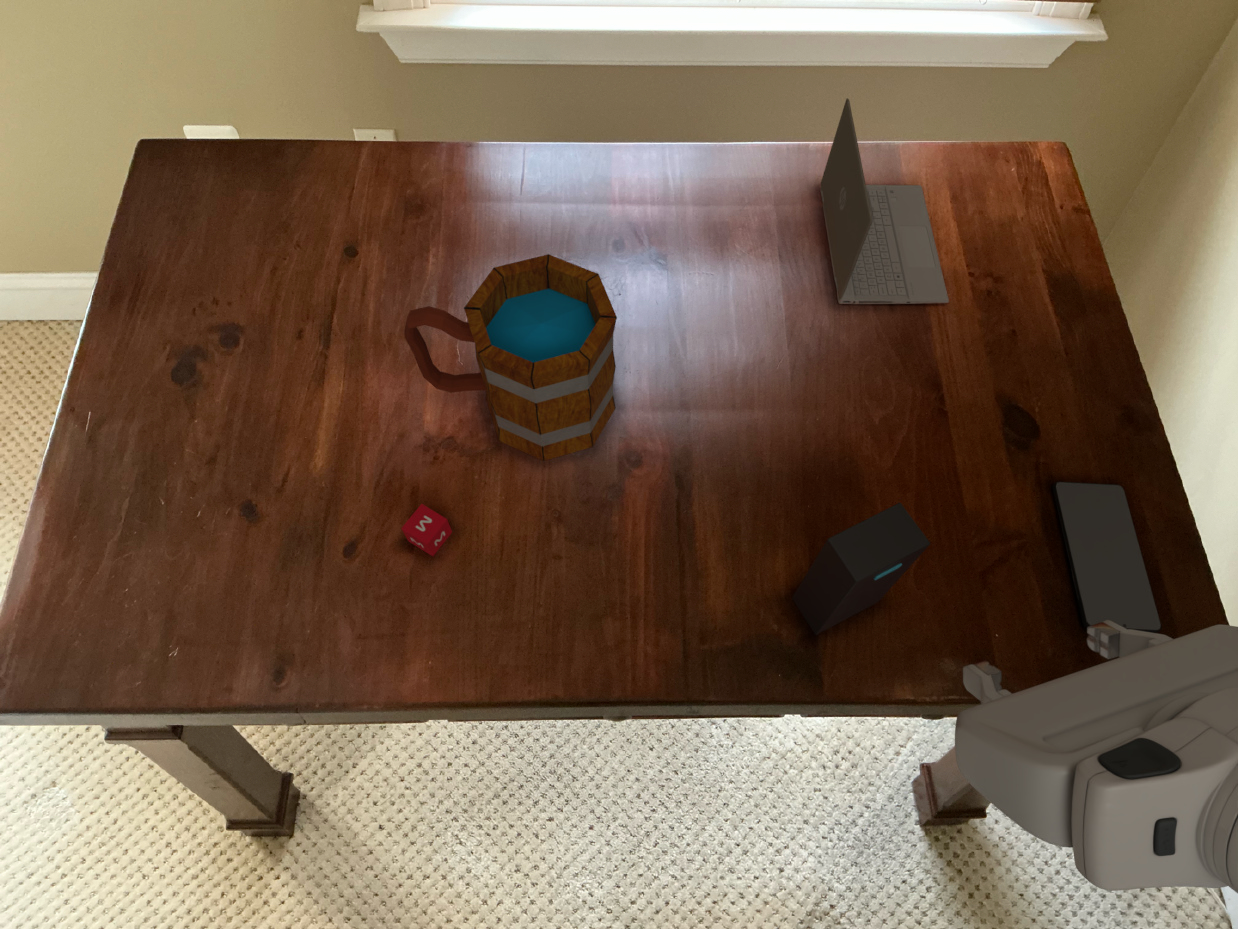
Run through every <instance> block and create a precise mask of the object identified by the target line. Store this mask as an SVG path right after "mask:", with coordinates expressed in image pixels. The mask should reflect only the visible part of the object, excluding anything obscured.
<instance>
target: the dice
mask: <svg viewBox="0 0 1238 929" xmlns="http://www.w3.org/2000/svg"><path fill="white" fill-rule="evenodd" d="M401 531H402V533H403V534H404V537H405V538H406V540H407V542H409V543H410V544H412V545H413V546H415V547H417V548H418V549H420V550H422V551H423V552H424V553H426V554H428V555H429V556H431V557H434V556H435V555H436V554H437V553H438V551H439V550H440V549H441V547H442V546H443V545H444V543H445V542H446V541H447V540H448V538H449V537H451V534H452V533H453V530H452V527H451V526H450V523H449V520H448V518H446V517H444V516H443V515H441V514H440V513H438V512H437V511H436V510H435V511H434V510H433V509H432V508H430V507H429V506H426V505H425V504H423V503H421V504H420V505H419V506H418V508H416V510H415V511H414V512H413V513H412V514H411V516H410V517H409V518H408V519H407V520H406V522H405V523H404V524H403V525H402V526H401Z"/></svg>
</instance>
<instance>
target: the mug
mask: <svg viewBox="0 0 1238 929" xmlns="http://www.w3.org/2000/svg"><path fill="white" fill-rule="evenodd" d="M463 310H464V313H465V317H466V319H467V321H464V320H461V319H460V318H458V317H456V316H454V315H453V314H451V313H449V312H448V311H446V310H444V309H440V308H437V307H433V306H429V305H427V306H424V307H420V308H416V309H415V308H414V309H411V310H409V312H408V314H407V316H406V320H405V325H404V331H403V333H404V339H405V340H406V343H407V345H408V346H409V348H410V350H411V352H412V354H413V356H414V359H415V361H416V365H417V367H418V369H419V371H420V373H421V376H422V377H423V379H424V380H426V381H427V382H428V383H429V384H430V385H432V387H434V388H435V389H436V390H440V391H444V392H447V393H461V392H477V391H485V402H486V404H487V407H488V410H489V413H490V417H491V420H492V423H493V426H494V430H495V433H496V436H497V440H498V441H499V442H500V443H503V444H505V445H507V446H510V447H512V448H514V449H516V450H518V451H521V452H523V453H525V454H527V455H529V456H532V457H534V458H536V459H538V460H541V461H543V462H545V461H549V460H551V459H556V458H560V457H563V456H566V455H569V454H573V453H577V452H580V451H583V450H587V449H591V448H593V447H594V446H595V444H596V443H597V441H598V440H599V437H600V435H601V434H602V432H603V430H604V429H605V427H606V425H607V423H608V422H609V420H610V418H611V417H612V415H613V413H614V412H615V410H616V409H617V408H616V403H615V399H614V379H615V373H616V368H617V367H616V358H615V352H614V332H615V329H616V323H617V320H618V319H617V318H618V317H617V314H616V312H615V309H614V308H613V304H612V302H611V300H610V298H609V295H608V293H607V291H606V288H605V285H604V283H603V281H602V278H601V276H600V274H599V273H598V272H595V271H592V270H591V269H587V268H585V267H583V266H579V265H577V264H575V263H572V262H570V261H567V260H564V259H563V258H560V257H557V256H554V255H552V254H543V255H539V256H535V257H531V258H527V259H524V260H520V261H514V262H511V263H507V264H503V265H499V266H495V267H493V268H492V269H491V270H490V271H489V273H488V275H487V276H486V277H485V278H484V280H483V281H482V283H481V284H480V285H479V287H478V288H477V289H476V291H475V292H474V293H473V294H472V296H471V298H470V299H469V300H468V302H467V303H466V304H465V306H464V307H463ZM423 326H427V327H430V328H433V329H436V330H441V331H442V332H444V333H445V334H447V335H449V336H451V337H452V338H454V339H456V340H458V341H461V342H468V343H474V348H475V359H476V362H477V365H478V368H479V372H468V373H461V374H460V373H459V374H452V373H449V372H444V371H442V370H440V369H439V368H438V367H437V366H436V365H435V364H434V362H433V359H432V357H431V354H430V352H429V349H428V346H427V343H426V341H425V339H424V337H423V335H422V334H421V332H420V330H419V329H418V328H419V327H423Z"/></svg>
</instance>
